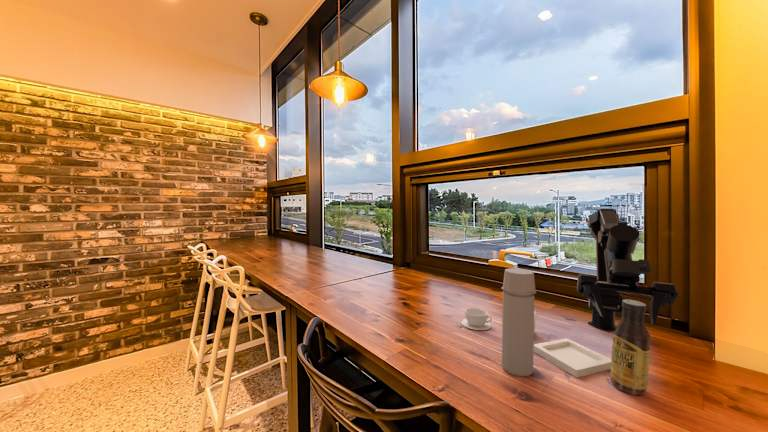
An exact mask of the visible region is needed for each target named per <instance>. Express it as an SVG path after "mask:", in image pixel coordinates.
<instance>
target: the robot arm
mask: <svg viewBox="0 0 768 432" xmlns="http://www.w3.org/2000/svg"><path fill="white" fill-rule="evenodd" d="M587 221H588V222H587V228H588V229H590V235H591V236H592V237H593V239H594V240H595V252H596V253H595V254H596V256H595V257H596V260H595V261H596V262H595V264H596V275H594V274H593V275H592V274H591V275H590V274H583V273H580V274H578V276H577V283H576V292H577V293H578V294H582V296H583V297H586V298H587V300H588V307H589V309H592V312H591V313H592V315H591V321H587V324H588V325H591V326H593V327H595V328H598V329H600V330H603V331H606V332H610V331H615V330H616V328H617V326H618V325H616V313H618V314H619V313H620V314H622V310H623V307H622V301H623V300H625V299H624V298H623V294H624V293H626V294H634V295H642V296H648V300H649V301H648V302H649V303H648V309H649V319H650V322H651V325H652V326H655V325H656V323H657V320H658V316H659V314H660V309H661V308H666V307H667V306H672V305H674V302H675V300H676V299H677V298H678V295H679V294H680V293H679V290H678V287H677V286H676V285H675V284H673V283H669V282H660V281H652V283H651V284H650V286H642V285H638V283H640V276H641V275H649V274H650V273H651V272H652V271H651V270H652V269H651V268H652V267H651V263H650V260H649V259H642V258H641V259H640V258H639V259H638V260H633V256H632V254H634V252H635V251H636V247H637V244H638V242H639V241H640V231H639V230H638V229H637V228H635V227H633V226H632V225H628V222H627V221H620V215H619V214H618V213H617V209H614V208H597V210H596V211H595V212H592V213H591V214H589V216H588V219H587ZM621 293H623V294H621Z"/></svg>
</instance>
